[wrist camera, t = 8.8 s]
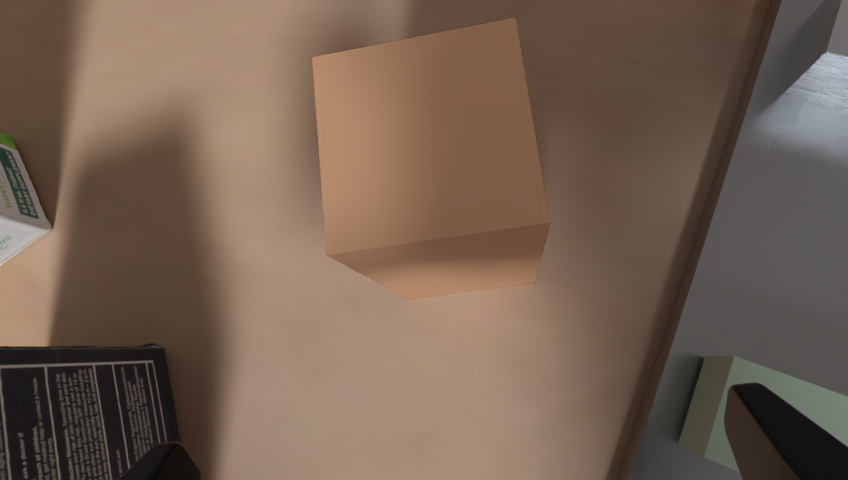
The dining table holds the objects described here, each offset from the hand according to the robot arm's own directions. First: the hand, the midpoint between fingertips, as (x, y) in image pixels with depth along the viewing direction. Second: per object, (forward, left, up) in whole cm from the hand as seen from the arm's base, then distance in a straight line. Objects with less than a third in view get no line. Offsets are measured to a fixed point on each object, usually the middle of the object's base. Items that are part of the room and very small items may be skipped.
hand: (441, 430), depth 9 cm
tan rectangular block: (+1, +6, -12) cm, 14 cm away
